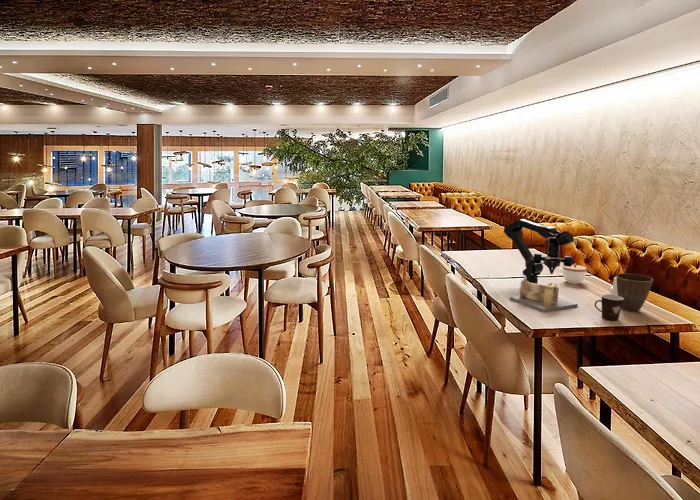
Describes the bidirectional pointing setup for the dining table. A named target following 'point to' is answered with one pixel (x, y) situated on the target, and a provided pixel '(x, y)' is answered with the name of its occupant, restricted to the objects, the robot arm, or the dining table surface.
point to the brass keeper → (549, 294)
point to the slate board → (539, 304)
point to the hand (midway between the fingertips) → (551, 273)
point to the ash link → (536, 291)
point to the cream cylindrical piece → (614, 288)
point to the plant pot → (633, 290)
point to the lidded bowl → (574, 273)
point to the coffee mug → (610, 307)
